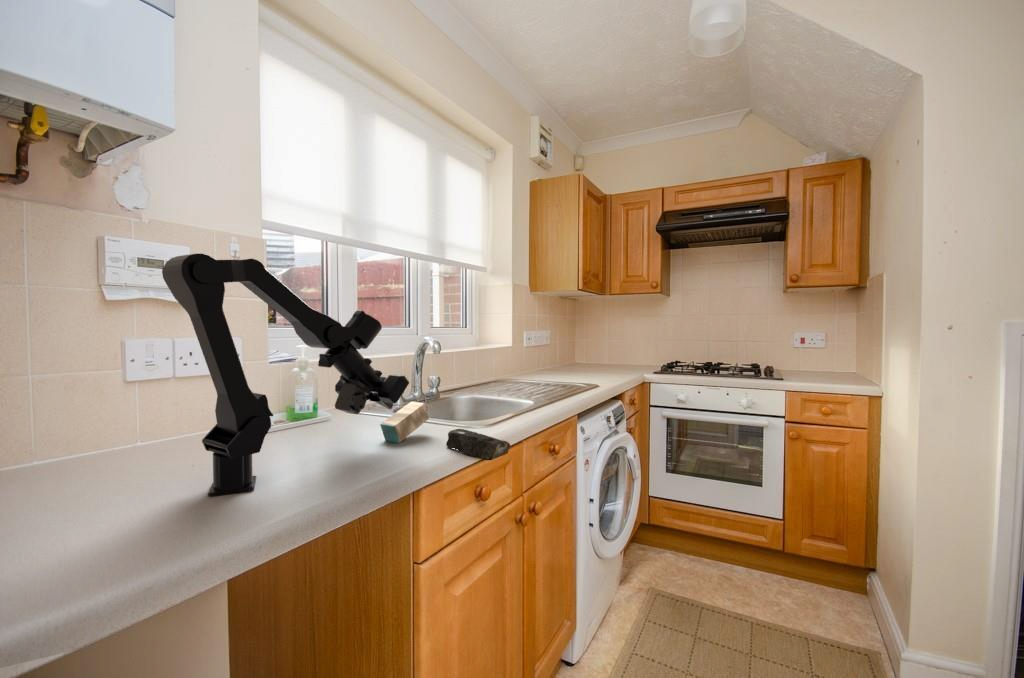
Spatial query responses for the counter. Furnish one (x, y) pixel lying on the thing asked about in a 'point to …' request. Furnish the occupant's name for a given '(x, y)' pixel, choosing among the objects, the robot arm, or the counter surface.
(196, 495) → the counter surface
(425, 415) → the block
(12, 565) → the counter surface
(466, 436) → the rock
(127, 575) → the counter surface
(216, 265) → the robot arm
